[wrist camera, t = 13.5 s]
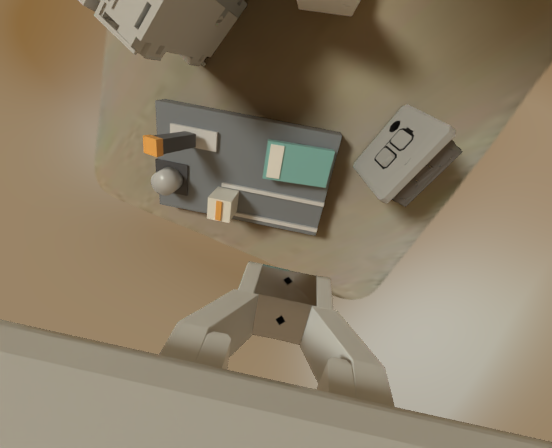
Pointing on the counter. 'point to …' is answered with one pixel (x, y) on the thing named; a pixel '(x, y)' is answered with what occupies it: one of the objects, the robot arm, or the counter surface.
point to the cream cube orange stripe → (222, 204)
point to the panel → (241, 164)
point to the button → (166, 181)
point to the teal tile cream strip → (297, 163)
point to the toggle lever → (168, 143)
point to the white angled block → (329, 6)
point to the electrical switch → (407, 155)
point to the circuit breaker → (169, 25)
